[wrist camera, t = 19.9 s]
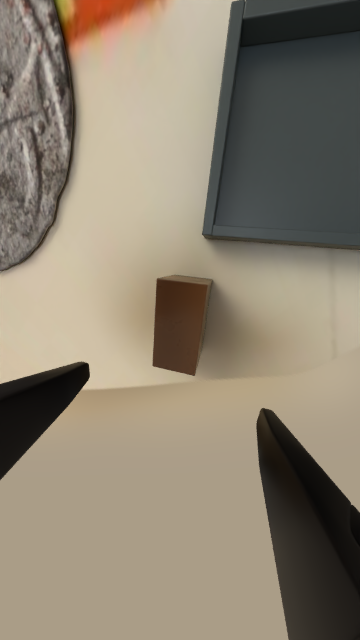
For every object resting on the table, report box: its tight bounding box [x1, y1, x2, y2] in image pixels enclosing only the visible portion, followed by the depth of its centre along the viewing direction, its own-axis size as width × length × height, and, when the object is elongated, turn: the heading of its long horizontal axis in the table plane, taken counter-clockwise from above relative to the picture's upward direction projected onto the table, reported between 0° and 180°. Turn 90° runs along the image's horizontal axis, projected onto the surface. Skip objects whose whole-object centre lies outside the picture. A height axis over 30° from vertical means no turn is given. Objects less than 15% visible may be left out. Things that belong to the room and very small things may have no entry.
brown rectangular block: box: [153, 275, 212, 376], centre depth 17 cm, size 4×8×5 cm, turn 174°
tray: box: [202, 0, 360, 250], centre depth 12 cm, size 17×13×2 cm
